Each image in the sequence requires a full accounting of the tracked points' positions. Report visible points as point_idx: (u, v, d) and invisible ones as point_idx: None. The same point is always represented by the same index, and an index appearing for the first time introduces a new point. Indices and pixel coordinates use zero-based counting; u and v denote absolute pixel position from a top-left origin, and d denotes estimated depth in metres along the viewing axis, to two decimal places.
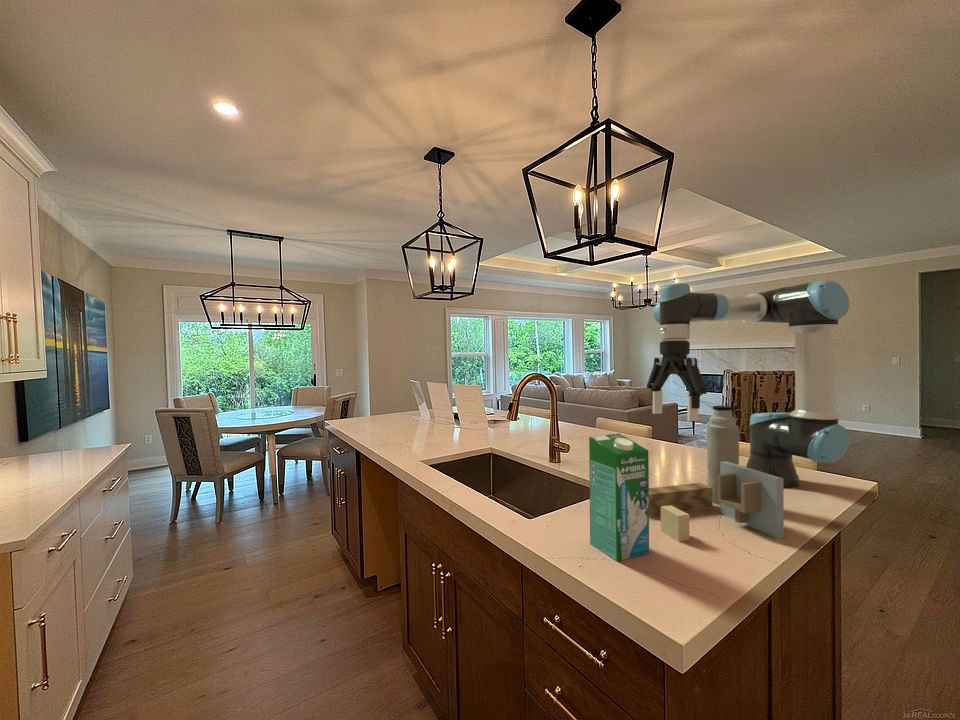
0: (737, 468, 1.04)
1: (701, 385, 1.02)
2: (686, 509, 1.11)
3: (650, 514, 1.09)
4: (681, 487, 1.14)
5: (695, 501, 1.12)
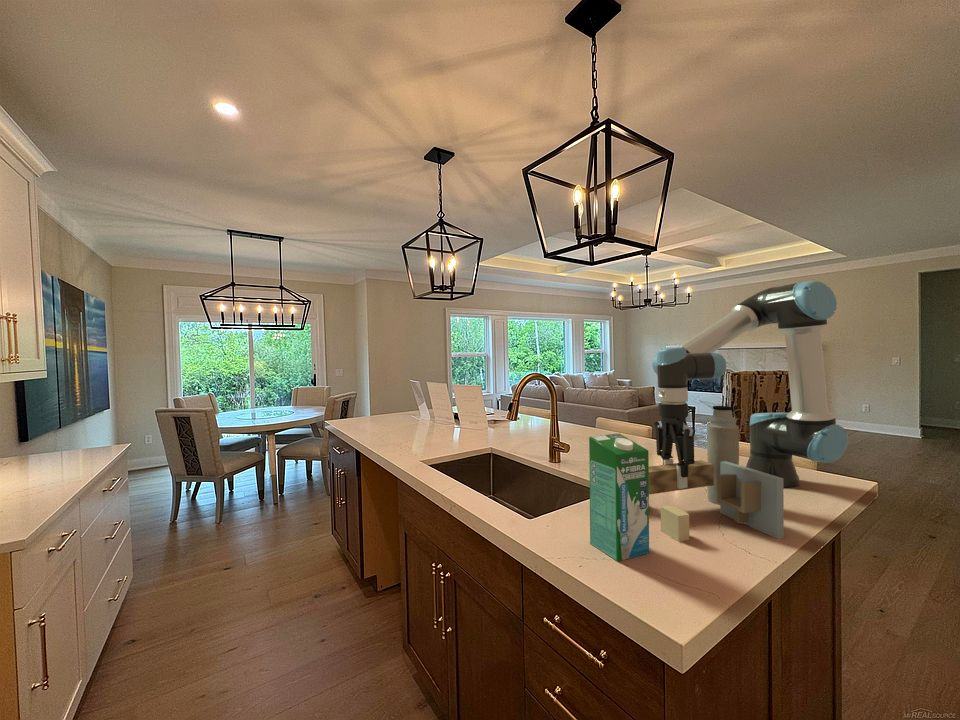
0: (737, 468, 1.04)
1: (691, 457, 1.07)
2: (688, 486, 1.12)
3: (652, 492, 1.09)
4: None
5: (696, 478, 1.12)
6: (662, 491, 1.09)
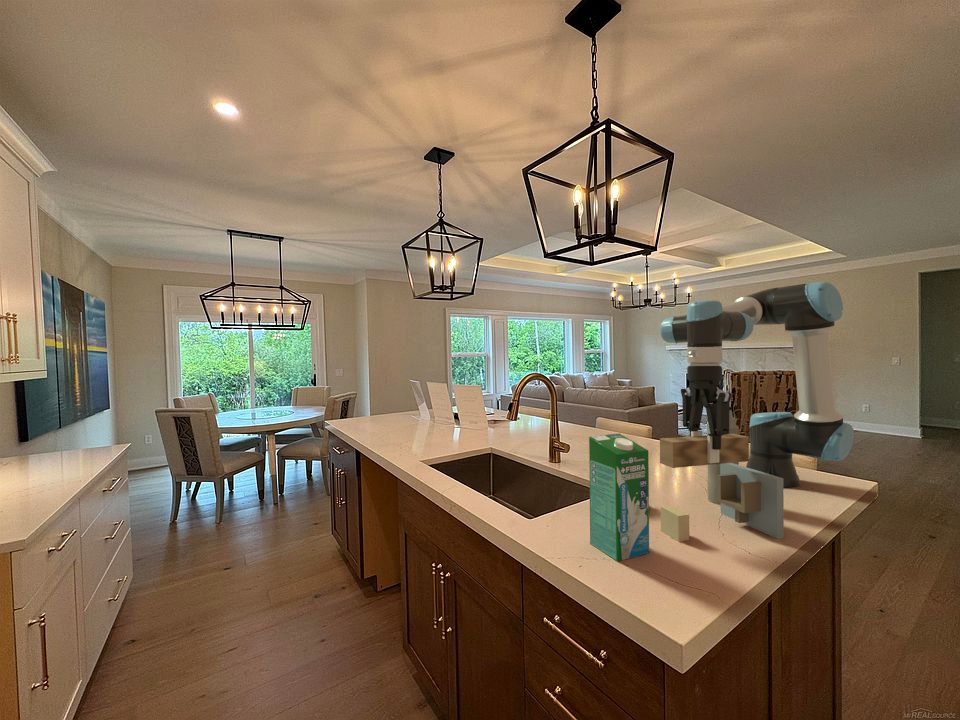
0: (737, 468, 1.04)
1: (725, 426, 0.93)
2: (719, 461, 0.97)
3: (679, 465, 0.94)
4: None
5: (729, 452, 0.98)
6: (690, 465, 0.95)
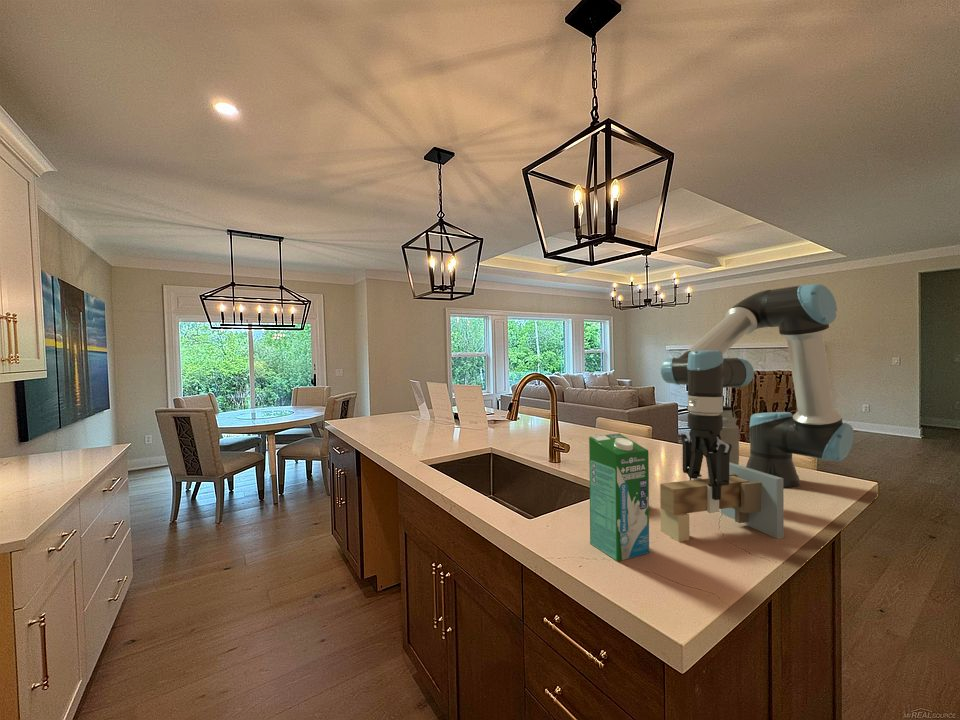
0: (737, 468, 1.04)
1: (725, 477, 0.93)
2: (720, 506, 0.97)
3: (679, 511, 0.94)
4: None
5: (729, 497, 0.98)
6: (691, 511, 0.95)
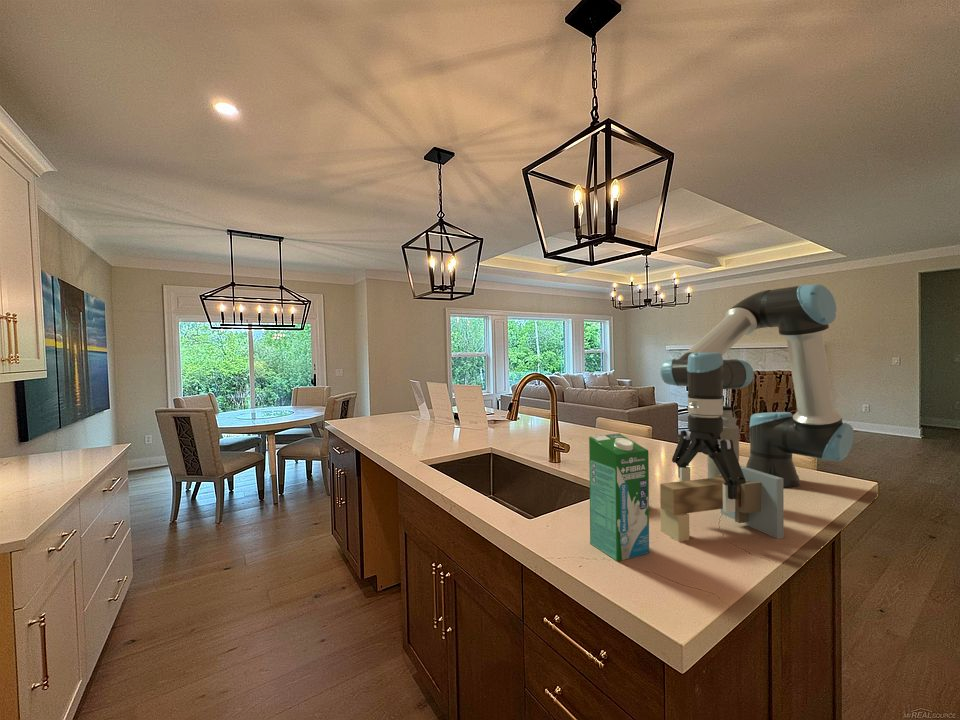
0: None
1: (739, 474, 0.90)
2: (720, 506, 0.97)
3: (679, 511, 0.94)
4: (713, 480, 1.00)
5: None
6: (691, 511, 0.95)
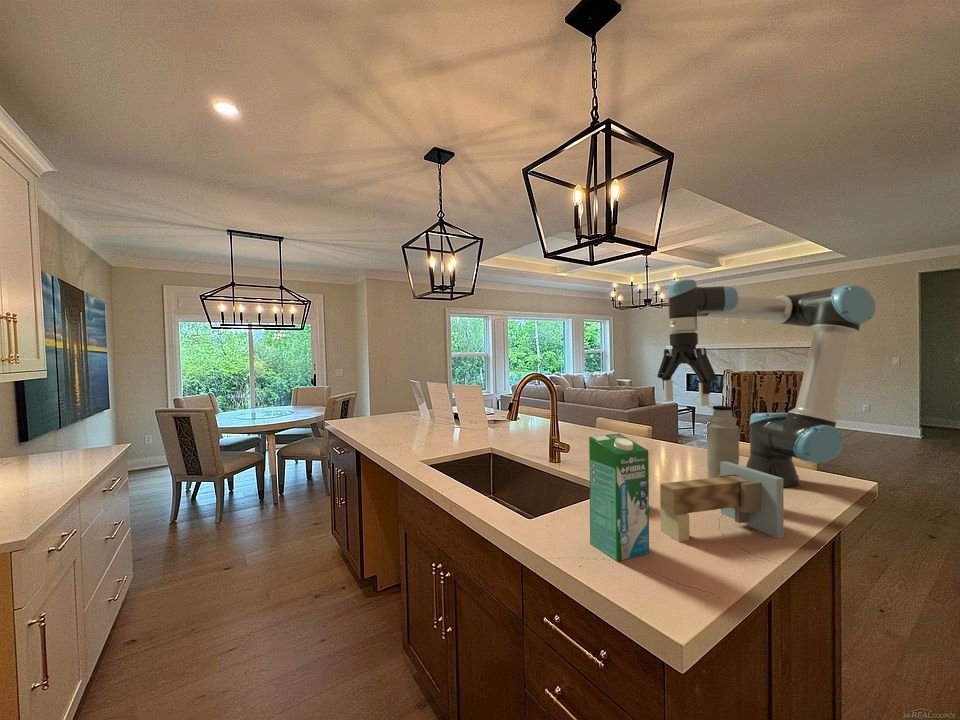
0: (737, 468, 1.04)
1: (711, 372, 1.12)
2: (720, 506, 0.97)
3: (679, 511, 0.94)
4: (713, 480, 1.00)
5: (729, 497, 0.98)
6: (691, 511, 0.95)
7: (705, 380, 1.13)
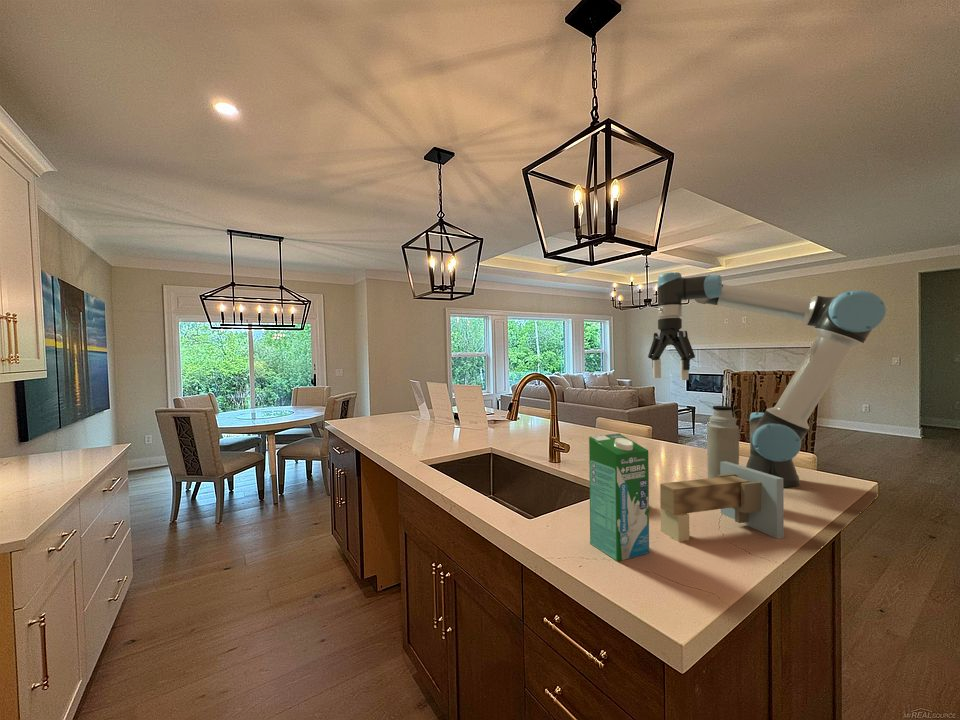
0: (737, 468, 1.04)
1: (690, 351, 1.31)
2: (720, 506, 0.97)
3: (679, 511, 0.94)
4: (713, 480, 1.00)
5: (729, 497, 0.98)
6: (691, 511, 0.95)
7: (685, 358, 1.32)
